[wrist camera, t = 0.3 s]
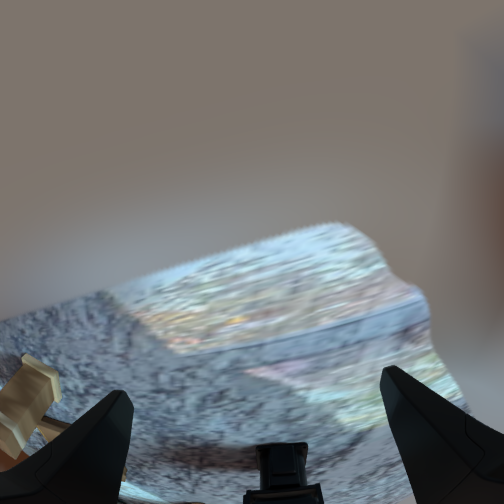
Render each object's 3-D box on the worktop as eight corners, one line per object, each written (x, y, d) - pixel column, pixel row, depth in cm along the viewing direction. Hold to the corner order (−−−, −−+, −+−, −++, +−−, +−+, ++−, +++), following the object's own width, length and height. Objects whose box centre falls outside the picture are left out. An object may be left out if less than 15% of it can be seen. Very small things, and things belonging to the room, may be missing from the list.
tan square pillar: (57, 371, 27) (7, 442, 15) (62, 397, 29) (20, 464, 17) (26, 352, 27) (-28, 414, 15) (31, 380, 28) (-13, 439, 16)
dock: (128, 471, 34) (125, 482, 32) (71, 455, 35) (67, 464, 32) (100, 430, 31) (94, 442, 28) (40, 412, 31) (33, 422, 29)
